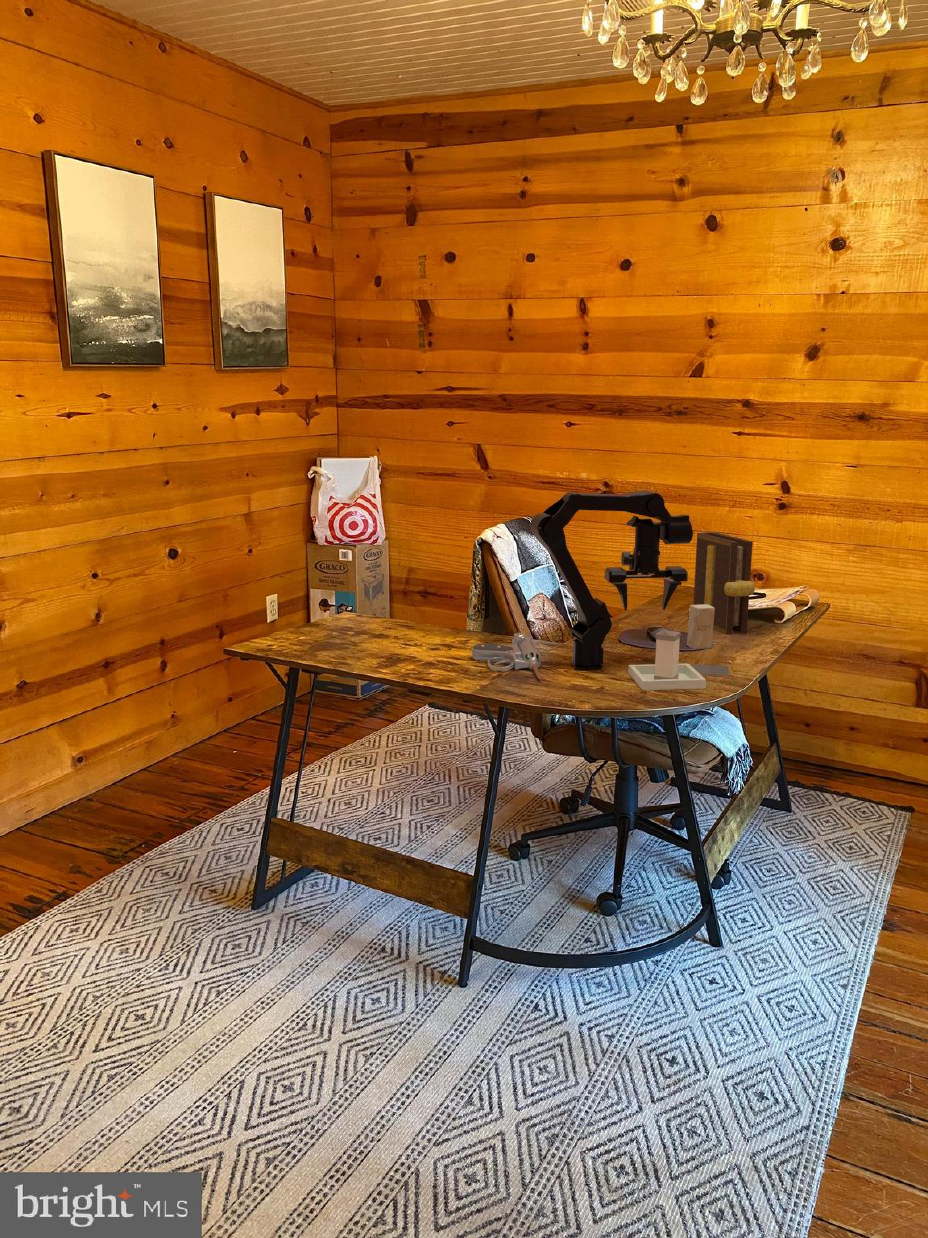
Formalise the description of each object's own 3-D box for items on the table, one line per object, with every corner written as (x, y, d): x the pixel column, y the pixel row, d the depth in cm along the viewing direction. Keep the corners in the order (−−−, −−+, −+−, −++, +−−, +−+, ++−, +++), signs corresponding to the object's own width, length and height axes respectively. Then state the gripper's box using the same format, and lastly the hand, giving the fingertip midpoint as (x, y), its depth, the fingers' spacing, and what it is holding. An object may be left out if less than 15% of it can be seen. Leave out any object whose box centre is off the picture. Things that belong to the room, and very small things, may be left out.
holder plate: (685, 675, 222) (685, 673, 221) (684, 666, 229) (684, 663, 229) (730, 677, 220) (730, 675, 220) (727, 668, 227) (727, 666, 227)
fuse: (653, 681, 215) (655, 633, 212) (660, 677, 218) (662, 630, 216) (672, 684, 213) (674, 636, 210) (678, 679, 216) (680, 632, 214)
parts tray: (642, 692, 209) (643, 681, 208) (628, 675, 222) (628, 664, 221) (705, 690, 210) (706, 679, 209) (687, 673, 223) (688, 663, 222)
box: (693, 651, 243) (695, 608, 240) (686, 646, 247) (688, 604, 244) (712, 649, 244) (715, 607, 241) (705, 645, 248) (707, 603, 245)
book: (686, 619, 277) (690, 533, 271) (712, 617, 279) (717, 531, 273) (729, 637, 256) (734, 544, 250) (756, 635, 259) (763, 542, 253)
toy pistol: (470, 655, 243) (532, 647, 244) (482, 697, 217) (552, 689, 218) (468, 633, 241) (531, 626, 242) (480, 673, 215) (550, 665, 216)
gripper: (676, 539, 234) (673, 602, 238) (600, 540, 233) (598, 603, 236) (689, 546, 223) (686, 612, 227) (610, 547, 222) (608, 613, 226)
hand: (644, 609), depth 229 cm, fingers open, 9 cm apart
